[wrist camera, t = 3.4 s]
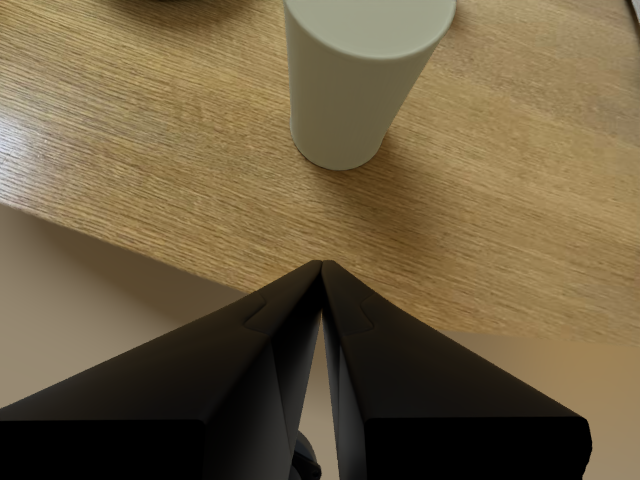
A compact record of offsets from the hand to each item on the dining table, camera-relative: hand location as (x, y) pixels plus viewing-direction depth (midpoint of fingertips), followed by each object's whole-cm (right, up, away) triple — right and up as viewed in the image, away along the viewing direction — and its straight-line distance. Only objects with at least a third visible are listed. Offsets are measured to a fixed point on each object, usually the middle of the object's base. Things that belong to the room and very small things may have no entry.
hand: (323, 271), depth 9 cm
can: (+2, +12, +15) cm, 19 cm away
